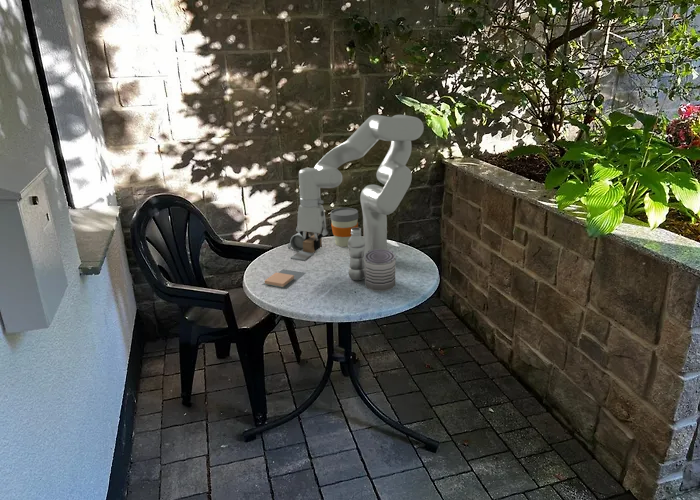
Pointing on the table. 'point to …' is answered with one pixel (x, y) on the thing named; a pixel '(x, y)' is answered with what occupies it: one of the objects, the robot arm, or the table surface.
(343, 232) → the reusable coffee cup
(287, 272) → the mat
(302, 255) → the tall brown block
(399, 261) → the table surface
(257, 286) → the table surface
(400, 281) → the table surface
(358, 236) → the silver bottle
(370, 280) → the ribbed tin
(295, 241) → the ceramic mug
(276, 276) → the tile
